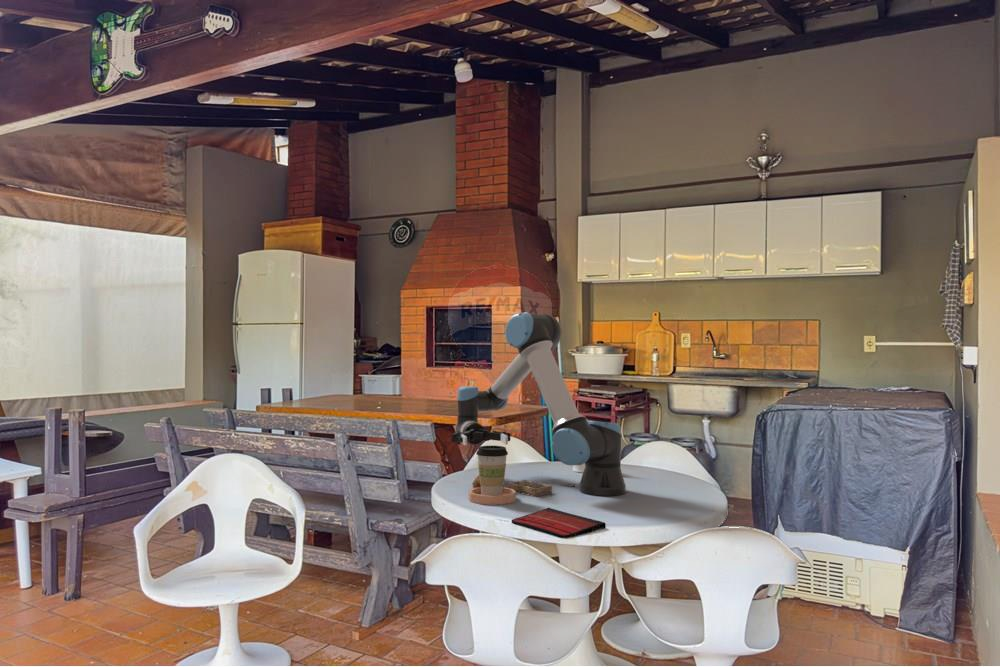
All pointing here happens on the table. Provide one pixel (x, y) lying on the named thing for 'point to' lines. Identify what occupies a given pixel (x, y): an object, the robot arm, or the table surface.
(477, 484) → the bread roll
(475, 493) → the dish
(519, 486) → the pebble tray
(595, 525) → the binder
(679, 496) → the table surface
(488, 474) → the coffee cup
